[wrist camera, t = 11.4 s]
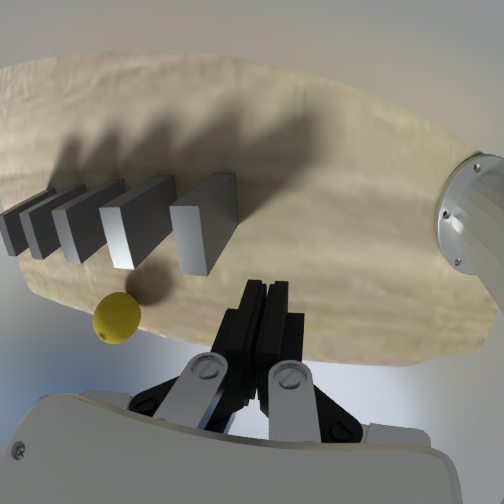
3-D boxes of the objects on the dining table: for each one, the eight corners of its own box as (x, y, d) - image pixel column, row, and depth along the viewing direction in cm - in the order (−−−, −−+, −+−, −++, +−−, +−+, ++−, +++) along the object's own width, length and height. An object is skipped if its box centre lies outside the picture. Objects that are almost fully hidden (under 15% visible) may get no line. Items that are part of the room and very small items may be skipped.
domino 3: (123, 179, 27) (65, 210, 19) (132, 223, 29) (81, 264, 22) (109, 180, 27) (51, 211, 20) (118, 223, 30) (66, 262, 22)
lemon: (119, 272, 33) (82, 311, 26) (155, 296, 34) (123, 339, 27) (112, 299, 36) (80, 337, 29) (145, 321, 36) (117, 362, 30)
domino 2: (84, 183, 28) (28, 212, 20) (93, 223, 31) (43, 259, 23) (73, 185, 29) (18, 213, 21) (82, 223, 31) (33, 258, 23)
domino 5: (217, 224, 28) (180, 274, 20) (213, 173, 25) (169, 206, 17) (238, 225, 27) (207, 276, 19) (234, 173, 25) (198, 205, 17)
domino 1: (54, 188, 29) (2, 215, 22) (63, 223, 32) (16, 256, 24) (46, 189, 30) (-4, 216, 22) (54, 224, 32) (8, 255, 24)
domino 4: (173, 175, 26) (119, 207, 18) (180, 223, 28) (134, 269, 20) (155, 176, 26) (98, 208, 19) (162, 223, 29) (114, 267, 21)
